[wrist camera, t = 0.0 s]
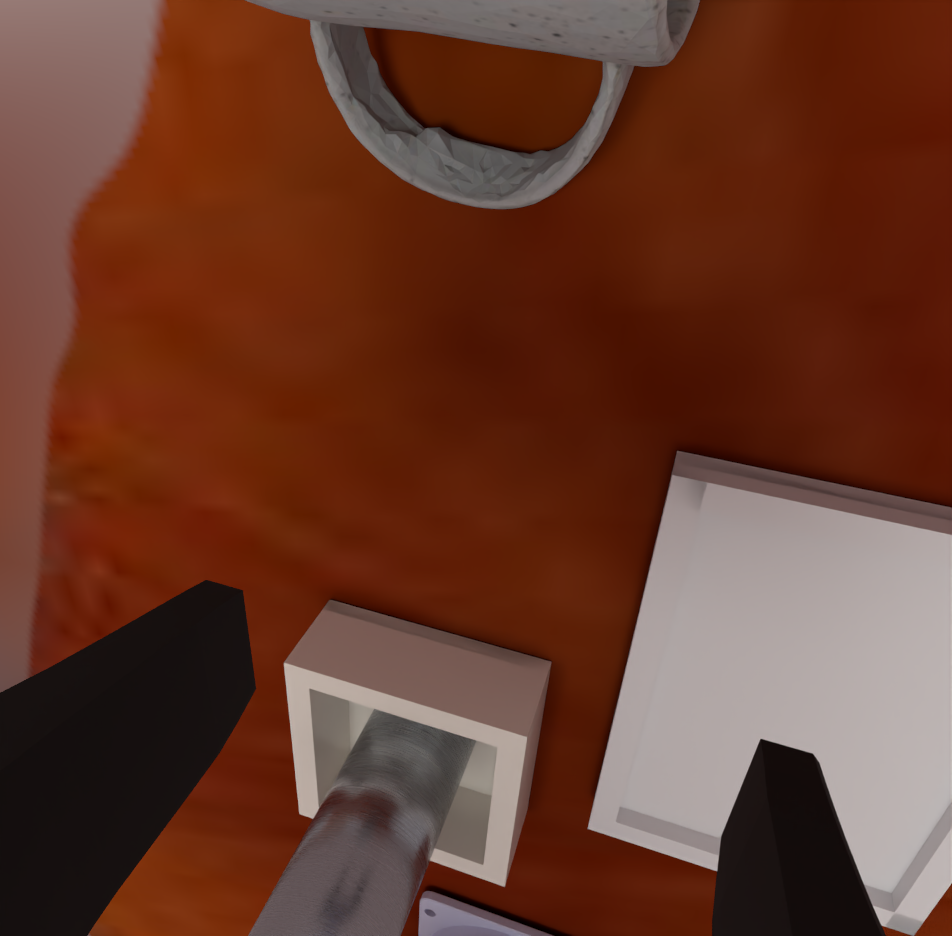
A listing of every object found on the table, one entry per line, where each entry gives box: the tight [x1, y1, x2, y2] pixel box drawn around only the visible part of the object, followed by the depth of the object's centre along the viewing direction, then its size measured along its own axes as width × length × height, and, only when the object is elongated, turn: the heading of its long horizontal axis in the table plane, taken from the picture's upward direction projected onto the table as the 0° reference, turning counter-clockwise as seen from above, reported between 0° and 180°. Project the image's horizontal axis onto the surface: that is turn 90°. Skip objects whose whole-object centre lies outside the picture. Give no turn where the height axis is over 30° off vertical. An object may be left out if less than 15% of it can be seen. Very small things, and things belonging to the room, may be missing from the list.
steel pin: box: [249, 709, 476, 936], centre depth 22 cm, size 4×4×9 cm
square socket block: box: [284, 600, 552, 887], centre depth 25 cm, size 8×8×3 cm
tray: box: [588, 451, 952, 936], centre depth 21 cm, size 14×10×1 cm
